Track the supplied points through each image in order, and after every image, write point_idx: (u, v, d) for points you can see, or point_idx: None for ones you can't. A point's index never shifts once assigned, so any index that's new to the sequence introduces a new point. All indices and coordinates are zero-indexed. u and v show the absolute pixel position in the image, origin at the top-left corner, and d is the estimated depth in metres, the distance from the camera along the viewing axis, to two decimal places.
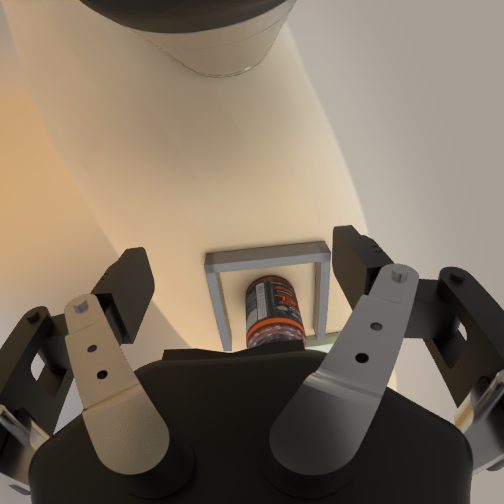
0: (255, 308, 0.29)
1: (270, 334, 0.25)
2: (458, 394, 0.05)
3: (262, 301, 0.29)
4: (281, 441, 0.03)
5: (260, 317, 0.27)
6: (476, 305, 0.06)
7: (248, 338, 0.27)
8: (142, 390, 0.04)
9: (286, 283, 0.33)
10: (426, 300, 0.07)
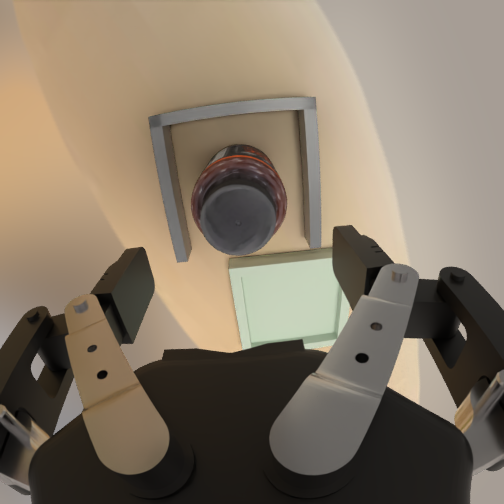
0: (210, 162, 0.19)
1: (224, 170, 0.16)
2: (458, 394, 0.05)
3: (221, 153, 0.20)
4: (281, 441, 0.03)
5: (213, 161, 0.18)
6: (476, 305, 0.06)
7: (193, 190, 0.17)
8: (142, 390, 0.04)
9: (260, 151, 0.23)
10: (426, 300, 0.07)
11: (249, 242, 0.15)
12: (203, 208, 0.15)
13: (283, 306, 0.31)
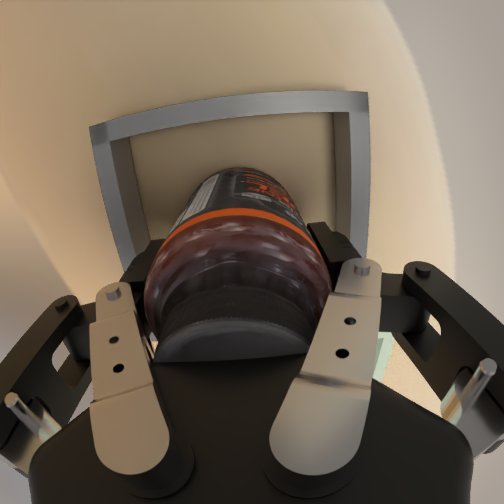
0: (185, 209, 0.11)
1: (204, 254, 0.07)
2: (439, 386, 0.06)
3: (205, 192, 0.11)
4: (281, 441, 0.03)
5: (187, 216, 0.09)
6: (447, 297, 0.06)
7: None
8: (153, 391, 0.04)
9: (273, 179, 0.14)
10: (389, 294, 0.08)
11: None
12: (155, 361, 0.06)
13: None
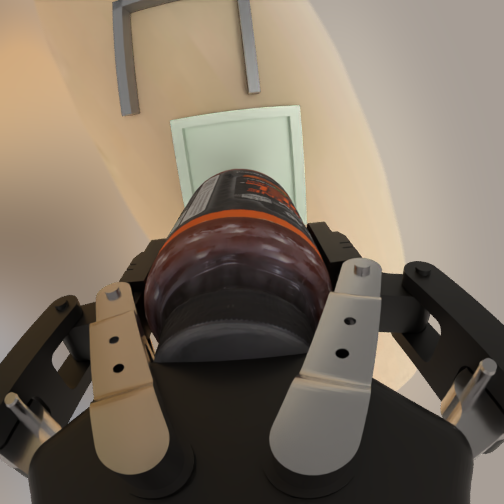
0: (185, 211, 0.11)
1: (204, 255, 0.07)
2: (439, 386, 0.06)
3: (205, 193, 0.11)
4: (281, 441, 0.03)
5: (187, 218, 0.09)
6: (447, 297, 0.06)
7: None
8: (153, 391, 0.04)
9: (273, 180, 0.14)
10: (389, 293, 0.08)
11: None
12: None
13: None
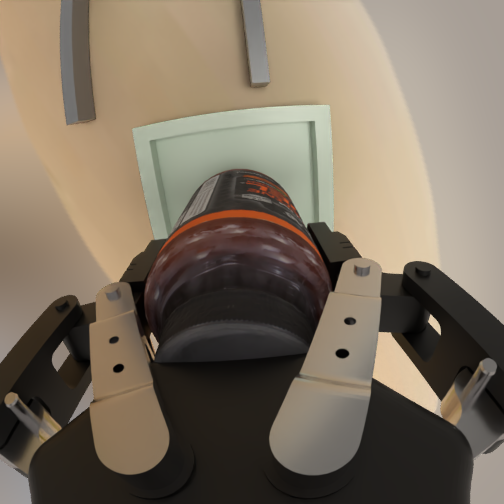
0: (185, 211, 0.11)
1: (204, 256, 0.07)
2: (439, 386, 0.06)
3: (205, 194, 0.11)
4: (281, 441, 0.03)
5: (187, 218, 0.09)
6: (447, 297, 0.06)
7: None
8: (153, 392, 0.04)
9: (273, 180, 0.14)
10: (389, 293, 0.08)
11: None
12: None
13: None
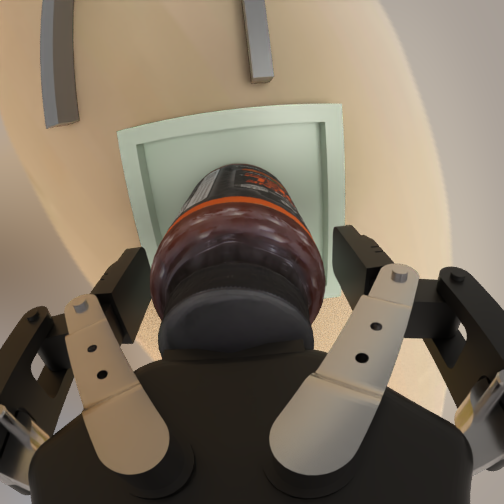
0: (188, 200, 0.11)
1: (206, 235, 0.08)
2: (458, 394, 0.05)
3: (207, 185, 0.12)
4: (281, 441, 0.03)
5: (190, 205, 0.10)
6: (476, 305, 0.06)
7: None
8: (142, 390, 0.04)
9: (270, 174, 0.15)
10: (426, 300, 0.07)
11: None
12: (161, 331, 0.07)
13: None
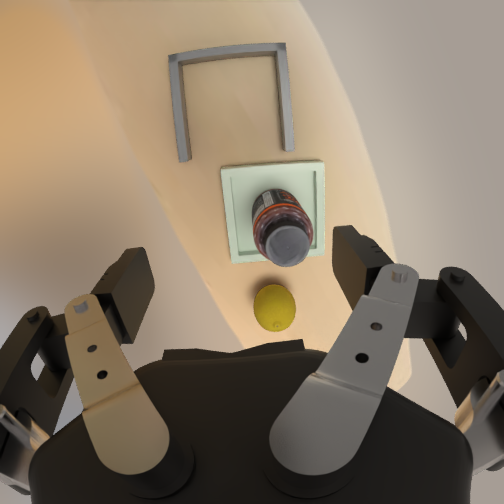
0: (262, 204, 0.30)
1: (278, 214, 0.26)
2: (458, 394, 0.05)
3: (269, 198, 0.30)
4: (281, 441, 0.03)
5: (267, 205, 0.28)
6: (476, 305, 0.06)
7: (255, 224, 0.28)
8: (142, 390, 0.04)
9: (291, 194, 0.34)
10: (426, 300, 0.07)
11: (293, 259, 0.26)
12: (268, 238, 0.25)
13: None
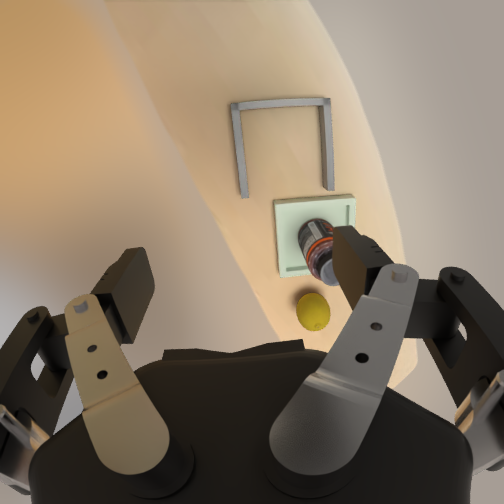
0: (311, 235, 0.38)
1: (327, 247, 0.35)
2: (458, 394, 0.05)
3: (316, 230, 0.39)
4: (281, 441, 0.03)
5: (317, 238, 0.37)
6: (476, 305, 0.06)
7: (309, 253, 0.36)
8: (142, 390, 0.04)
9: (329, 223, 0.42)
10: (426, 300, 0.07)
11: None
12: (323, 267, 0.33)
13: None
